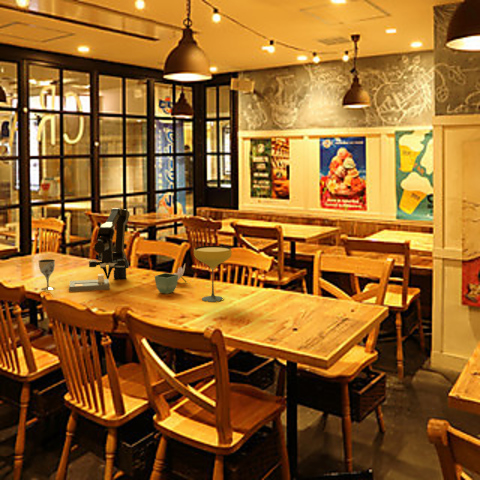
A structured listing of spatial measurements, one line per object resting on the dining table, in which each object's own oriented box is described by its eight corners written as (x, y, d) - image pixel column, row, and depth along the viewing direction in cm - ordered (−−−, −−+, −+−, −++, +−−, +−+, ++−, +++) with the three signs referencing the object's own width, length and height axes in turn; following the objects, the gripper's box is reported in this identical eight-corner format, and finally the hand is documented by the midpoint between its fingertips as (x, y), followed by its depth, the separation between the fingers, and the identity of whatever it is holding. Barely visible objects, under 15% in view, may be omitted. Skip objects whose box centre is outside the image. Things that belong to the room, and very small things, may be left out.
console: (108, 283, 306) (108, 278, 305) (109, 289, 292) (109, 284, 292) (70, 285, 301) (70, 280, 300) (69, 291, 287) (69, 286, 287)
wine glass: (41, 291, 288) (39, 262, 285) (38, 288, 295) (37, 260, 292) (57, 289, 291) (55, 261, 289) (54, 286, 298) (53, 258, 296)
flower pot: (167, 295, 280) (167, 277, 279) (154, 293, 285) (154, 275, 283) (178, 291, 288) (178, 274, 286) (165, 289, 292) (165, 272, 291)
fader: (103, 283, 301) (103, 273, 300) (104, 285, 296) (103, 275, 295) (98, 283, 300) (97, 273, 299) (98, 285, 295) (98, 275, 294)
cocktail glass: (187, 301, 268) (187, 250, 264) (203, 293, 285) (203, 244, 281) (222, 305, 262) (222, 252, 258) (236, 296, 278) (237, 247, 275)
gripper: (123, 247, 306) (124, 275, 308) (88, 248, 301) (89, 276, 303) (125, 250, 295) (126, 279, 298) (88, 251, 291) (89, 281, 293)
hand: (107, 278), depth 298 cm, fingers closed
